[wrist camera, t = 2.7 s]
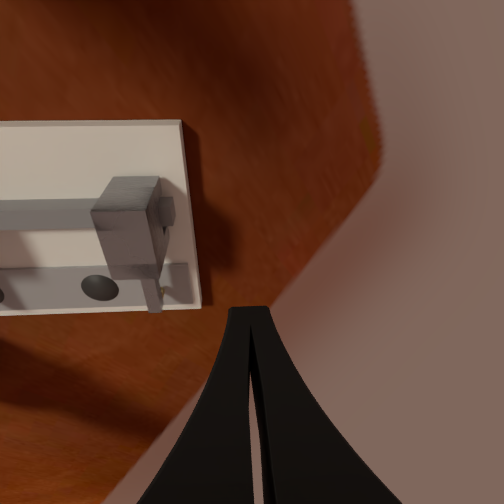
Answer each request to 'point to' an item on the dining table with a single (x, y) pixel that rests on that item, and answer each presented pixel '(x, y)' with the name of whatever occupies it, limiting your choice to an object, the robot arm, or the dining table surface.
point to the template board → (86, 214)
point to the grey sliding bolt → (133, 233)
